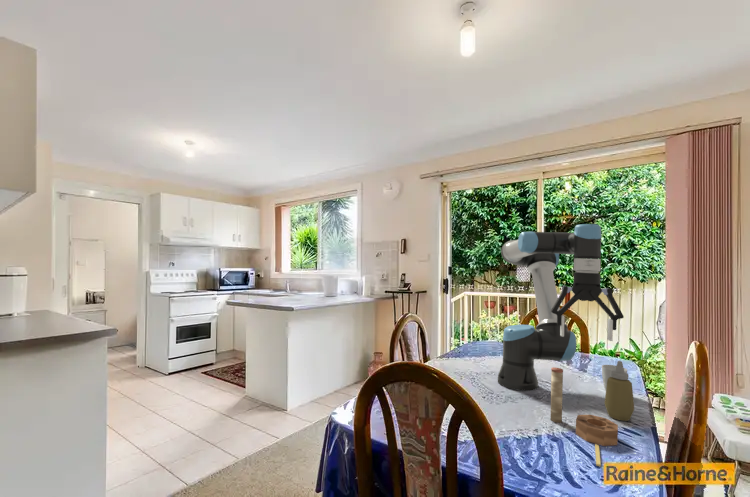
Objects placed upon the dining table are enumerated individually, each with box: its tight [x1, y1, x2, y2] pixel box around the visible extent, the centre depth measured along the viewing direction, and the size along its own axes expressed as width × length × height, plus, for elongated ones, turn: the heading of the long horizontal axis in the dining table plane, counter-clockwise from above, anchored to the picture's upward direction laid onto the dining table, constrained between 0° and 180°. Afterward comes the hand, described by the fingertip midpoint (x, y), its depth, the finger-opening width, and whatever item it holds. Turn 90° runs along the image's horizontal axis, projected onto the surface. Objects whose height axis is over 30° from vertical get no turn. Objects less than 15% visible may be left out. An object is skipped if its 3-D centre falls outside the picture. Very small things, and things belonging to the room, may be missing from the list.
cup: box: [601, 364, 628, 392], centre depth 138 cm, size 8×8×10 cm
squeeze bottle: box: [603, 360, 635, 422], centre depth 118 cm, size 8×8×18 cm
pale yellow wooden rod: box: [594, 443, 601, 468], centre depth 93 cm, size 11×1×1 cm, turn 150°
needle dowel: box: [549, 367, 564, 424], centre depth 114 cm, size 3×3×16 cm
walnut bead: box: [575, 414, 619, 447], centre depth 104 cm, size 10×10×4 cm
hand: (585, 338), depth 117 cm, fingers open, 13 cm apart
